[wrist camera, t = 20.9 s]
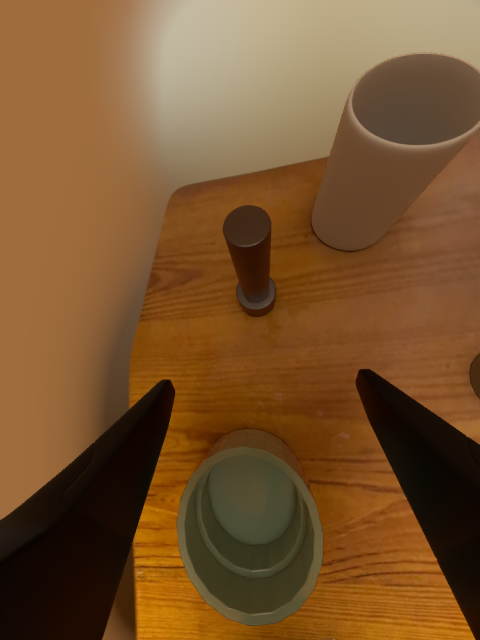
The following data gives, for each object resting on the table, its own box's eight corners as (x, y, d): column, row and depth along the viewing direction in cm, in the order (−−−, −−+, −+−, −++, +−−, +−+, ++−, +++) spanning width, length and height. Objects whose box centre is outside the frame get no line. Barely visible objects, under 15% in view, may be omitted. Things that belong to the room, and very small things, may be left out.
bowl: (321, 545, 17) (344, 618, 12) (208, 559, 18) (186, 633, 13) (291, 418, 19) (299, 436, 14) (193, 436, 20) (169, 458, 15)
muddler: (278, 312, 22) (293, 248, 10) (243, 320, 22) (216, 267, 10) (270, 280, 23) (274, 185, 11) (237, 288, 23) (204, 204, 11)
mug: (353, 266, 22) (436, 173, 11) (295, 223, 24) (318, 111, 13) (423, 195, 23) (564, 45, 12) (361, 160, 25) (434, 5, 14)
